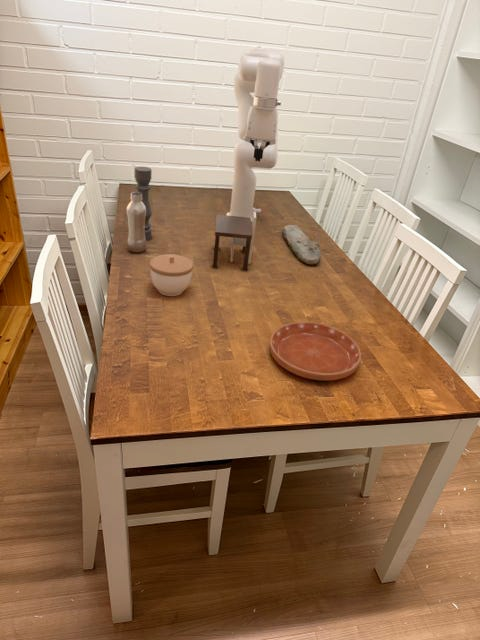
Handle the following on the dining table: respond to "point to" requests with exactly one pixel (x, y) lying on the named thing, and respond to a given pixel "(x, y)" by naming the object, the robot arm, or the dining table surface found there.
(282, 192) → the dining table surface
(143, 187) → the candle holder
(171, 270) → the lidded bowl
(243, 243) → the chair
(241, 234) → the toy table
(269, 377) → the dining table surface
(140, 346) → the dining table surface
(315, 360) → the saucer
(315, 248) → the long grey stone
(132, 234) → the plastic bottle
